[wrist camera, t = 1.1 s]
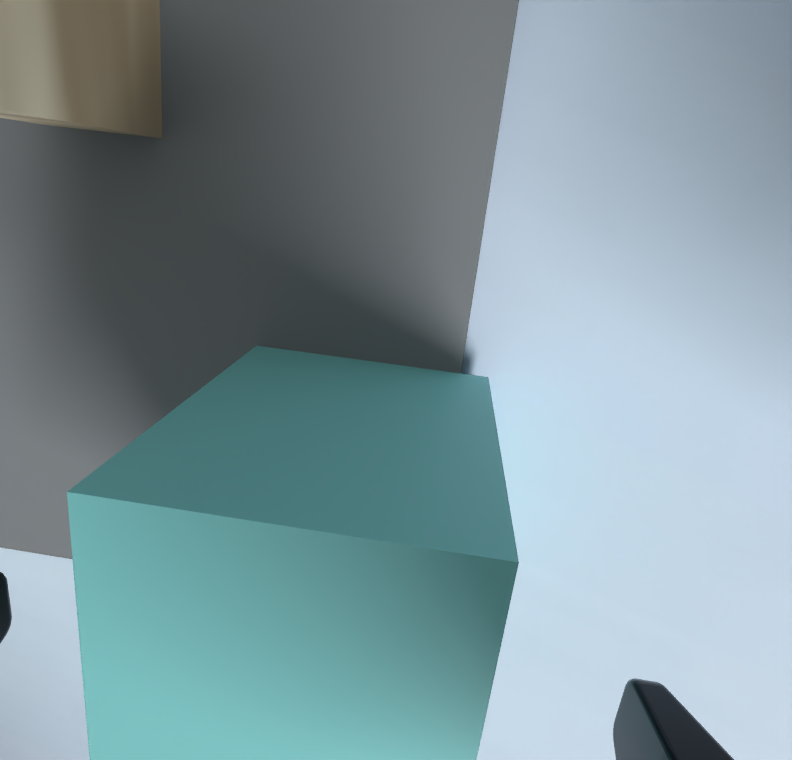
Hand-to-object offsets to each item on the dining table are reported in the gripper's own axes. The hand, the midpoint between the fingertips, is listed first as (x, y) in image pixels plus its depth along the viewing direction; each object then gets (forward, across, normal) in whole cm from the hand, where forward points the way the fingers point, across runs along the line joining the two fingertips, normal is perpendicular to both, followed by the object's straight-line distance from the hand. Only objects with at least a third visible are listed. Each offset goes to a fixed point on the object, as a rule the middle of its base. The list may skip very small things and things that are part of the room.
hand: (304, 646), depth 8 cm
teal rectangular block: (+6, 0, 0) cm, 6 cm away
